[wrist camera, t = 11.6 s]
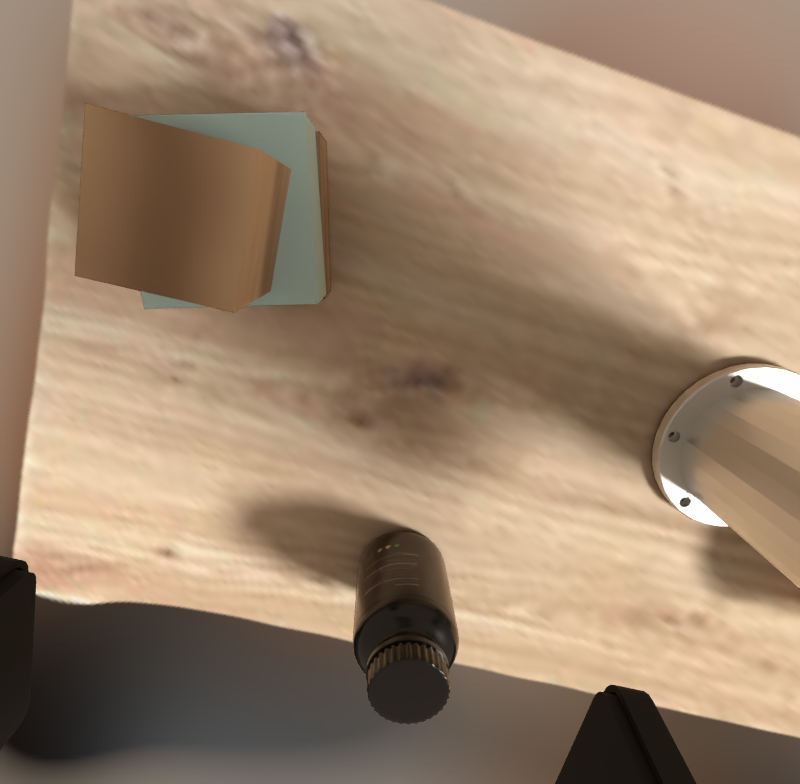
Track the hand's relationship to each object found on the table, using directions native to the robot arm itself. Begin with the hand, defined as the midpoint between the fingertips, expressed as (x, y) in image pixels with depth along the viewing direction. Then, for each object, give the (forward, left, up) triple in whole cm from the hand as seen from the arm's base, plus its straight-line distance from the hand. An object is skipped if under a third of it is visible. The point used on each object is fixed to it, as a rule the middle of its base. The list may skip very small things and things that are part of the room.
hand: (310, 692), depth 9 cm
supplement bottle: (-6, +17, -29) cm, 34 cm away
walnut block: (+8, -6, -21) cm, 23 cm away
